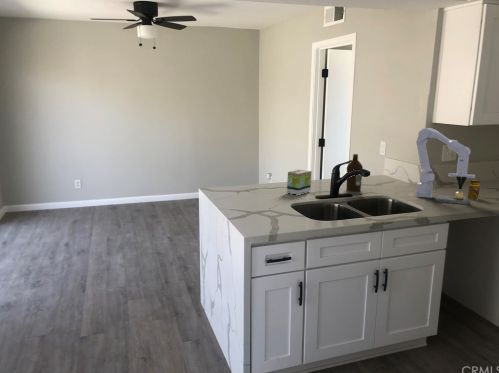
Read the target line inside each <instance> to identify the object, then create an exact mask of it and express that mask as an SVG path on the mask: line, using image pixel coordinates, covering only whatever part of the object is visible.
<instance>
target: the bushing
mask: <svg viewBox="0 0 499 373" xmlns="http://www.w3.org/2000/svg"><path fill="white" fill-rule="evenodd" d="M463 197H464V192H463V191H455V199H458V200H463Z"/></svg>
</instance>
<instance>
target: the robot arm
mask: <svg viewBox="0 0 499 373" xmlns="http://www.w3.org/2000/svg"><path fill="white" fill-rule="evenodd" d="M430 139H437V140H439V141H440V142H442V143H443V144H445V145H447V148H448V149H449V150H450V151H453V152H454V153H455V154H457V156H458V157H457V166H456V167H457V168H456V173H455V172H454V173H453V172H452V173H451V172H448V177H450V178H451V177H452V178H456V181H457V184H458V189H459V190H462V188H463V185H464V183H465V182H466V181H467V179H475V178H476V175H475V174H468V168H469V161H470V160H469V158H470V155H471V149H470V148H469V147H468V146H465V145H464V144H462V143H460V142H459V141H458V140H457V139H449V138H448V137H446V136H445V134H442V133H441V132H439V131H438V130H436V129H434V128H432V127H425V128H422V129H421V130H419V131H418V135H417V139H416V147H417V148H416V149H417V152H418V157H419V158H418V159H419V164H420V168H421V169H420V171H419V173H420V174H419V175H420V176H419V181H420V182H417V185H416V192H415V193H416V197H417V198H429V199H432V198H433V185H434V184H433V183H434V182H433V181H434V180H435V178H436V175H435V173H434V172H433V169H432V168H431V165H430V164H431V163H430V160H429V159H430V158H429V154H428V149H427V145H426V144H427V142H428V141H429V140H430Z"/></svg>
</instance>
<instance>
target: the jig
mask: <svg viewBox="0 0 499 373" xmlns="http://www.w3.org/2000/svg"><path fill="white" fill-rule="evenodd" d="M467 197H468V196H466V197H464V196H463V200H458V199H455V196H453V195H442V194H441V195H440V194H435V202H436V203H437V202H438V203H445V204H446V203H448V204H456V203H457V204H459V205H466V206H468V205H469V203H470V202H469V201H470V200H469V199H468V198H467Z"/></svg>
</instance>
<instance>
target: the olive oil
mask: <svg viewBox="0 0 499 373" xmlns="http://www.w3.org/2000/svg"><path fill="white" fill-rule="evenodd" d="M350 162H351V163H350ZM350 162H348V163H347V167H346V173H347V172H349V171H351V170H353V169H363V170H364V167H363V164H362V163H361V162H360V161H359V154H358V153H353V154H352V160H351V161H350ZM362 179H363V175H362V176H361V175H355V176H352V177H350V178H348V179H347V178H346V191H347V190H349V191H348V192H352V191H358V192H360V191H361V190H362V189H361V188H362Z"/></svg>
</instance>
